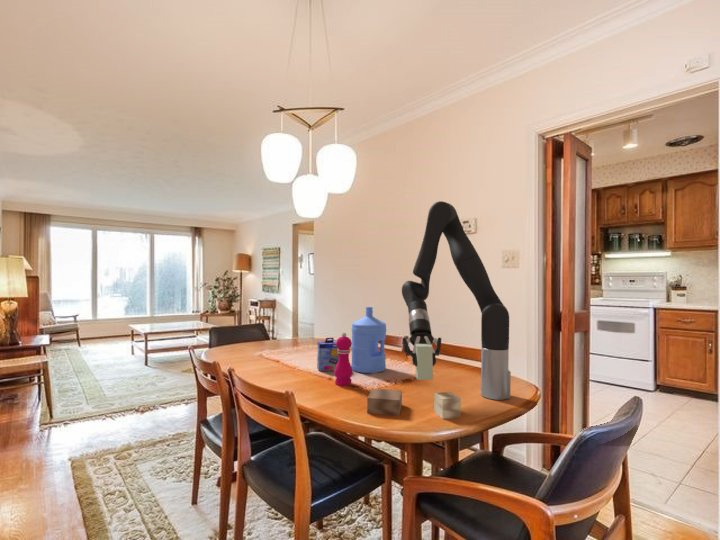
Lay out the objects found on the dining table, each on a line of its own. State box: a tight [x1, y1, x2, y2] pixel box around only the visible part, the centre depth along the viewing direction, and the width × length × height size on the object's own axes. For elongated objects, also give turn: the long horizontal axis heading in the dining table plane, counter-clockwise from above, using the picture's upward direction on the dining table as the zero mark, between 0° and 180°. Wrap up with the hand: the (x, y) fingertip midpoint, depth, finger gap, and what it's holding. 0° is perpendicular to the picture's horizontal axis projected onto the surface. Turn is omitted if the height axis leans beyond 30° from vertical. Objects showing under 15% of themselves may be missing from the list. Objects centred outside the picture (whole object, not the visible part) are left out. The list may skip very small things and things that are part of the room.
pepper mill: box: [333, 332, 354, 387], centre depth 150 cm, size 7×7×20 cm
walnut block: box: [366, 388, 403, 416], centre depth 123 cm, size 10×10×5 cm
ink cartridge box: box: [316, 337, 339, 372], centre depth 172 cm, size 10×6×14 cm, turn 107°
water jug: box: [350, 306, 387, 374], centre depth 173 cm, size 16×16×28 cm
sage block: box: [415, 344, 434, 381], centre depth 129 cm, size 5×5×11 cm
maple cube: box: [433, 391, 462, 420], centre depth 119 cm, size 6×6×6 cm
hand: (424, 365), depth 127 cm, fingers closed on sage block, 5 cm apart
